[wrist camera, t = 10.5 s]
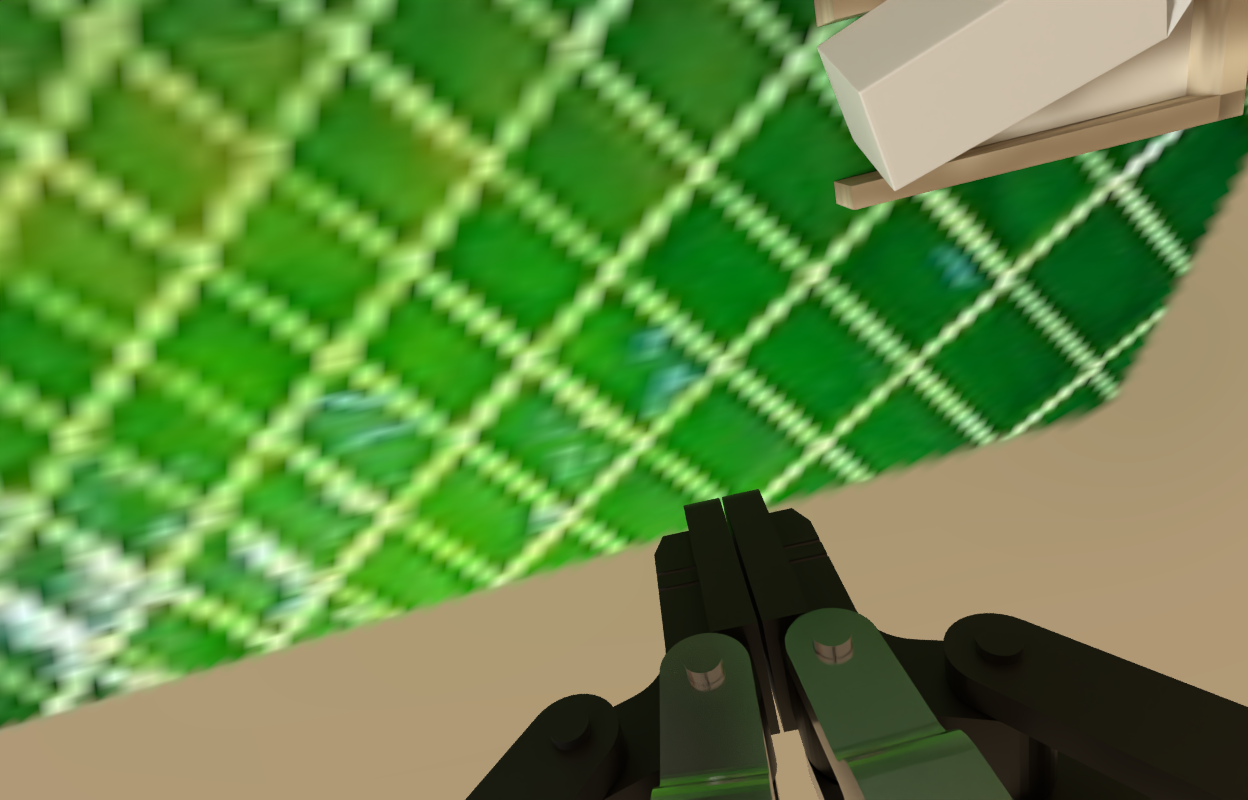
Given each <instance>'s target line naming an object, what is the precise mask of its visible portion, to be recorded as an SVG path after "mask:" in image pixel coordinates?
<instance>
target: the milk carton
mask: <svg viewBox="0 0 1248 800" xmlns="http://www.w3.org/2000/svg"><path fill="white" fill-rule="evenodd" d="M1191 1H1192V0H886V1H885V2H883V3H882V4H880V5H879V6H877V7H876V8H874V9H873V10H871V11H870V12H868V13H867V14H865V15H864V16H862V17H861V18H859V19H858V20H856V21H855V22H853V23H852V24H850V25H849V26H847V27H846V28H844V29H843V30H841V31H839V32H838V33H836V34H835V35H833V36H832V37H830V38H829V39H827V40H826V41H824V42H823V43H821V44H820V45H819V46H818V47H817V49H818V51H819V54H820V57H821V59H822V62H823V65H824V67H825V70H826V73H827V75H828V78H829V80H830V83H831V86H832V88H833V91H834V93H835V96H836V98H837V101H838V103H839V106H840V108H841V111H842V113H843V116H844V118H845V121H846V123H847V125H848V128H849V130H850V133H851V135H852V137H853V140H854V141H855V143H856V144H857V145H858V147H859V148H860V149H861V150H862V152H863V153H864V154H865V155H866V157H867V158H868V159H869V160H870V162H871V163H872V164H873V165H874V167H875V168H876V169H877V170H878V172H879V173H880V174H881V175H882V177H883V178H884V179H885V180H886V182H887V183H888V184H889V185H890V187H891V188H892V189H893V190H894V191H896V190H898V189H900V188H902V187H904V186H906V185H907V184H909V183H911V182H913V181H915V180H916V179H918V178H920V177H922V176H923V175H925V174H927V173H929V172H930V171H932V170H934V169H936V168H938V167H939V166H941V165H943V164H945V163H946V162H948V161H950V160H952V159H953V158H955V157H957V156H959V155H961V154H962V153H964V152H966V151H968V150H969V149H971V148H973V147H975V146H976V145H978V144H980V143H982V142H984V141H985V140H987V139H989V138H991V137H992V136H994V135H996V134H998V133H999V132H1001V131H1003V130H1005V129H1007V128H1008V127H1010V126H1012V125H1014V124H1015V123H1017V122H1019V121H1021V120H1022V119H1024V118H1026V117H1028V116H1030V115H1031V114H1033V113H1035V112H1037V111H1038V110H1040V109H1042V108H1044V107H1045V106H1047V105H1049V104H1051V103H1053V102H1054V101H1056V100H1058V99H1060V98H1061V97H1063V96H1065V95H1067V94H1068V93H1070V92H1072V91H1074V90H1076V89H1077V88H1079V87H1081V86H1083V85H1084V84H1086V83H1088V82H1090V81H1091V80H1093V79H1095V78H1097V77H1099V76H1100V75H1102V74H1104V73H1106V72H1107V71H1109V70H1111V69H1113V68H1114V67H1116V66H1118V65H1120V64H1122V63H1123V62H1125V61H1127V60H1129V59H1130V58H1132V57H1134V56H1136V55H1137V54H1139V53H1141V52H1143V51H1145V50H1146V49H1148V48H1150V47H1152V46H1153V45H1155V44H1157V43H1159V42H1160V41H1162V40H1164V39H1167V38H1168V36H1169V35H1170V33H1171V32H1172V30H1173V29H1174V27H1175V26H1176V24H1177V23H1178V21H1179V20H1180V18H1181V16H1182V15H1183V13H1184V12H1185V10H1186V9H1187V7H1188V6H1189V4H1190V3H1191Z"/></svg>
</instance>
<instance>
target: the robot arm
mask: <svg viewBox="0 0 1248 800" xmlns="http://www.w3.org/2000/svg"><path fill="white" fill-rule="evenodd" d="M722 500H723V506H724V511H725V515H726V518H725V515H724V511H723V508H722V505H721V502H720V499H719V498H716V499H711V500H707V501H702V502H698V503H693V504H689V505H684V510H685V515H686V520H687V525H688V529H689V531H686V532H681V533H676V534H672V535H667V536H663V537H662V540H661V542H660V544H659V546H658V548H657V550H656V552H655V555H654V556H655V564H656V573H657V581H658V589H659V597H660V606H661V614H662V622H663V631H664V639H665V648H666V655H665V657H664V658H663V660H662V663H661V666H660V674H659V675H658V676H657V678H656V679H655V680H654V681H653V683H651V684H650V685H649V686H648V687H647V688H646V689H645V690H644V691H642V692H641V693H639V694H637V695H635V696H634V697H632V698H630V699H628V700H626V701H624V702H622V703H620V704H618V705H616V706H614V707H613V706H612V705H611V704H610V703H609V702H607V700H605V699H603V698H601V697H599V696H596V695H590V694H577V695H571V696H568V697H565V698H563V699H560V700H558V701H556V702H554V703H553V704H551V705H550V706H548V707H547V708H546V709H544V710H543V711H542V712H541V713H540V714H539V715H538V716H537V717H536V719H535V720H534V721H533V722H532V723H531V724H530V726H529V727H528V728H527V729H526V730H525V731H524V732H523V734H522V735H521V736H520V737H519V738H518V740H517V741H516V742H515V743H514V744H513V745H512V746H511V748H510V749H509V750H508V751H507V752H506V753H505V754H504V756H503V757H502V758H501V759H500V760H499V761H498V763H497V764H496V765H495V766H494V767H493V768H492V770H491V771H490V772H489V773H488V774H487V775H486V776H485V778H484V779H483V780H482V781H481V782H480V783H479V785H478V786H477V787H476V788H475V789H474V790H473V791H472V793H471V794H470V795H469V796H468V797H467V798H466V800H780V798H779V793H778V787H777V782H776V778H775V776H776V771H777V763H776V758H775V752H774V747H773V743H772V738H771V735H773V734H777V733H780V730H779V725H778V720H777V715H776V710H775V705H774V700H773V696H774V699H775V702H776V706H777V709H778V713H779V716H780V719H781V723H782V726H783V730H784V732H786V731H792V730H797V729H798V730H799V733H800V736H801V740H802V743H803V746H804V749H805V754H806V759H807V764H808V770H809V774H810V777H811V780H812V782H813V785H814V788H815V790H816V792H817V795H818V797H819V800H1248V707H1246V706H1244V705H1241V704H1238V703H1236V702H1233V701H1231V700H1228V699H1225V698H1223V697H1220V696H1218V695H1215V694H1213V693H1210V692H1207V691H1205V690H1202V689H1199V688H1197V687H1195V686H1192V685H1189V684H1187V683H1184V682H1181V681H1179V680H1176V679H1174V678H1171V677H1169V676H1166V675H1163V674H1161V673H1158V672H1156V671H1153V670H1151V669H1148V668H1145V667H1143V666H1140V665H1138V664H1135V663H1132V662H1130V661H1127V660H1125V659H1122V658H1120V657H1117V656H1114V655H1112V654H1109V653H1107V652H1104V651H1102V650H1099V649H1096V648H1093V647H1091V646H1089V645H1086V644H1083V643H1081V642H1078V641H1075V640H1073V639H1071V638H1068V637H1065V636H1063V635H1060V634H1058V633H1055V632H1052V631H1050V630H1047V629H1045V628H1042V627H1040V626H1037V625H1034V624H1032V623H1029V622H1027V621H1024V620H1021V619H1018V618H1015V617H1012V616H1008V615H1003V614H994V613H984V614H975V615H971V616H967V617H965V618H962V619H960V620H958V621H957V622H955V623H954V624H953V625H951V627H949V629H948V630H947V632H946V634H945V637H944V641H937V640H917V639H906V638H900V637H895V636H892V635H889V634H886V633H884V632H882V631H879V630H878V629H877V628H876V627H875V626H874V624H873V623H872V622H871V621H870V620H868V619H867V618H865V617H864V616H862V615H861V614H858V612H857V611H856V609H855V607H854V605H853V603H852V601H851V599H850V597H849V595H848V593H847V591H846V589H845V587H844V585H843V584H842V582H841V580H840V578H839V576H838V574H837V572H836V570H835V568H834V566H833V564H832V562H831V560H830V558H829V557H828V556H827V553H826V550H825V549H824V547H823V545H822V543H821V542H820V540H819V537H818V535H817V533H816V531H815V529H814V527H813V525H812V523H811V521H809V520H808V519H807V518H805V517H804V516H802V515H801V514H799V513H798V512H797V511H795V510H794V509H792V508H790V509H786V510H781V511H777V512H772V513H769V512H768V510H767V508H766V505H765V503H764V500H763V498H762V496H761V493H760V491H759V489H756V490H752V491H747V492H743V493H738V494H733V495H729V496H724V497H722ZM726 520H727V521H726ZM771 689H772V690H771ZM772 692H773V695H772Z"/></svg>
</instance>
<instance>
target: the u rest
mask: <svg viewBox="0 0 1248 800" xmlns="http://www.w3.org/2000/svg"><path fill="white" fill-rule="evenodd" d="M885 1H886V0H815V1H814V4H815V13H816V22H817V27H820V26H824V25H828V24H831V23H835V22H839V21H843V20H847V19H850V18H854V17H858V16H862V15H865V14H867V13H868V12H870V11H871V10H873V9H874V8H876V7H877V6H879V5H880V4H882V3H883V2H885ZM1247 73H1248V0H1192V1H1191V3H1190V4H1189V6H1188V7H1187V9H1186V10H1185V12H1184V13H1183V15H1182V16H1181V18H1180V20H1179V21H1178V23H1177V24H1176V26H1175V27H1174V29H1173V30H1172V32H1171V33H1170V35H1169V36H1168V38H1167V39H1164V40H1162V41H1160V42H1159V43H1157V44H1155V45H1153V46H1152V47H1150V48H1148V49H1146V50H1145V51H1143V52H1141V53H1139V54H1137V55H1136V56H1134V57H1132V58H1130V59H1129V60H1127V61H1125V62H1123V63H1122V64H1120V65H1118V66H1116V67H1114V68H1113V69H1111V70H1109V71H1107V72H1106V73H1104V74H1102V75H1100V76H1099V77H1097V78H1095V79H1093V80H1091V81H1090V82H1088V83H1086V84H1084V85H1083V86H1081V87H1079V88H1077V89H1076V90H1074V91H1072V92H1070V93H1068V94H1067V95H1065V96H1063V97H1061V98H1060V99H1058V100H1056V101H1054V102H1053V103H1051V104H1049V105H1047V106H1045V107H1044V108H1042V109H1040V110H1038V111H1037V112H1035V113H1033V114H1031V115H1030V116H1028V117H1026V118H1024V119H1022V120H1021V121H1019V122H1017V123H1015V124H1014V125H1012V126H1010V127H1008V128H1007V129H1005V130H1003V131H1001V132H999V133H998V134H996V135H994V136H992V137H991V138H989V139H987V140H985V141H984V142H982V143H980V144H978V145H976V146H975V147H973V148H971V149H969V150H968V151H966V152H964V153H962V154H961V155H959V156H957V157H955V158H953V159H952V160H950V161H948V162H946V163H945V164H943V165H941V166H939V167H938V168H936V169H934V170H932V171H930V172H929V173H927V174H925V175H923V176H922V177H920V178H918V179H916V180H915V181H913V182H911V183H909V184H907V185H906V186H904V187H902V188H900V189H898V190H896V191H894V190H893V189H892V188H891V187H890V185H889V184H888V183H887V182H886V180H885V179H884V178H883V177H882V175H881V174H880V173H879V172H878V171H875V172H871V173H867V174H863V175H859V176H855V177H850V178H846V179H842V180H838V181H834V185H835V194H836V203H837V204H839V205H842V206H845V207H847V208H850V209H853V210H856V209H860V208H864V207H868V206H872V205H876V204H880V203H884V202H888V201H892V200H896V199H900V198H905V197H909V196H913V195H917V194H921V193H925V192H929V191H933V190H937V189H941V188H945V187H949V186H953V185H958V184H962V183H966V182H970V181H974V180H978V179H982V178H986V177H990V176H994V175H998V174H1002V173H1007V172H1011V171H1015V170H1019V169H1023V168H1027V167H1031V166H1035V165H1039V164H1043V163H1047V162H1051V161H1055V160H1060V159H1064V158H1068V157H1072V156H1076V155H1080V154H1084V153H1088V152H1092V151H1096V150H1100V149H1104V148H1109V147H1113V146H1117V145H1121V144H1125V143H1129V142H1133V141H1137V140H1141V139H1145V138H1149V137H1153V136H1158V135H1162V134H1166V133H1170V132H1174V131H1178V130H1182V129H1186V128H1190V127H1194V126H1198V125H1202V124H1206V123H1211V122H1215V121H1219V120H1223V119H1227V118H1231V117H1235V116H1239V115H1243V108H1244V100H1245V91H1246V82H1247Z"/></svg>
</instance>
